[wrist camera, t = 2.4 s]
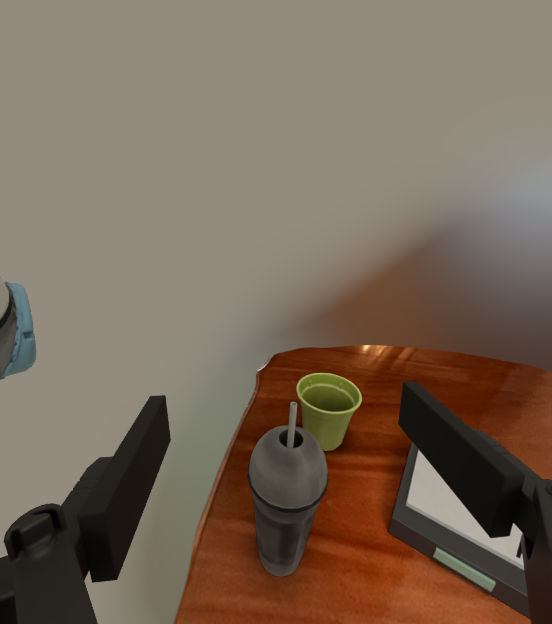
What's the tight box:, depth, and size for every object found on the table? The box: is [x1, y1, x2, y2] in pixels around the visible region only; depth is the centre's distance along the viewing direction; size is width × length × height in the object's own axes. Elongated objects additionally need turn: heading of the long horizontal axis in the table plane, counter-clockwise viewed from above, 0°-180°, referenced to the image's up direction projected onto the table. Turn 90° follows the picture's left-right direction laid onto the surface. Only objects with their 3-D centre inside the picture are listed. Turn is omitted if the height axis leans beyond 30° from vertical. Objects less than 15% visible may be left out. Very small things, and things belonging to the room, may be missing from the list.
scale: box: [388, 442, 531, 619], centre depth 34 cm, size 14×15×3 cm
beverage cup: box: [247, 402, 328, 577], centre depth 26 cm, size 7×7×20 cm
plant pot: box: [297, 373, 362, 451], centre depth 43 cm, size 9×9×9 cm
